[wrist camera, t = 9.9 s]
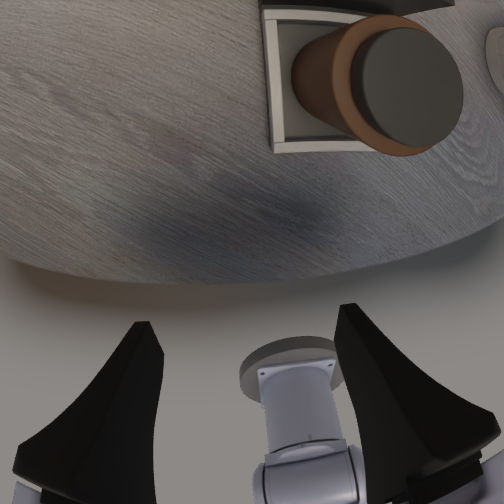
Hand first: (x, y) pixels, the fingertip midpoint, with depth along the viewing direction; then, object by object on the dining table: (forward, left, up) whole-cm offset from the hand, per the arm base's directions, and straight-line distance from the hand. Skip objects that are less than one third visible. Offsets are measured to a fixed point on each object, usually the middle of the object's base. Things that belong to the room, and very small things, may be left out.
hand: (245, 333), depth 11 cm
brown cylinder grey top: (+8, -6, -9) cm, 13 cm away
